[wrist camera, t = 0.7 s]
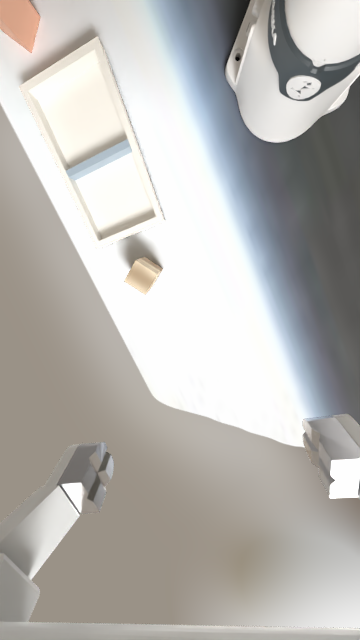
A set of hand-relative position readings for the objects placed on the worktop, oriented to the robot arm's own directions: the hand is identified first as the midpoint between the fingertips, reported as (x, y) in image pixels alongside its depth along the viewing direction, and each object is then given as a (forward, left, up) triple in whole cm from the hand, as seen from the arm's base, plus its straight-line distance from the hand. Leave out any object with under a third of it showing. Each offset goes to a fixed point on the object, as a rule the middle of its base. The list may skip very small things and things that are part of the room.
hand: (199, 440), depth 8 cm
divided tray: (-16, -21, -38) cm, 46 cm away
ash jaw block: (+1, -10, -38) cm, 39 cm away
